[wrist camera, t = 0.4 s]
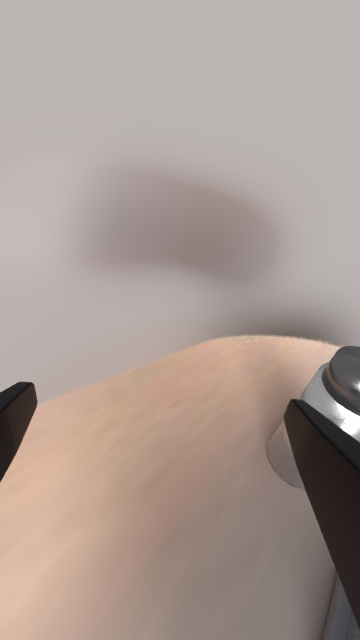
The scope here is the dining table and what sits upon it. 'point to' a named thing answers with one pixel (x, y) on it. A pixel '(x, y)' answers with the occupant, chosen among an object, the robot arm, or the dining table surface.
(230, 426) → the dining table surface
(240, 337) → the dining table surface
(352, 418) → the steel vacuum flask
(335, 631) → the grey tray with handle
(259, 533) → the dining table surface
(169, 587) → the dining table surface
